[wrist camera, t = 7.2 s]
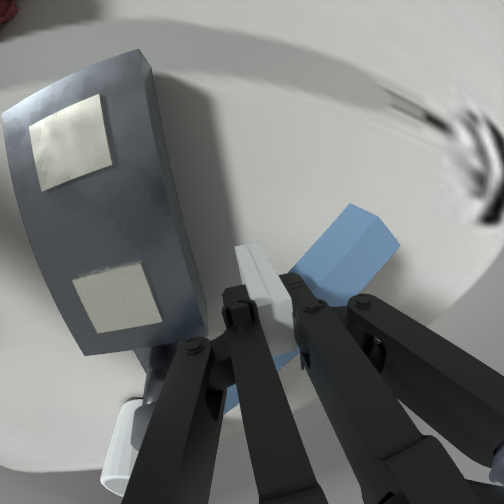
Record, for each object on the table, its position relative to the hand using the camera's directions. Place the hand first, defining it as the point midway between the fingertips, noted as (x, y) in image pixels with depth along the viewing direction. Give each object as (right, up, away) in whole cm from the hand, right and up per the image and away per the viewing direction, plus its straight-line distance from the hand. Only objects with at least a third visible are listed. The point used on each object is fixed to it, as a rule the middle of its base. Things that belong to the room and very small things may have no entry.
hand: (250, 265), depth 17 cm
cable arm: (-1, -6, +1) cm, 6 cm away
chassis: (-12, +4, +5) cm, 14 cm away
